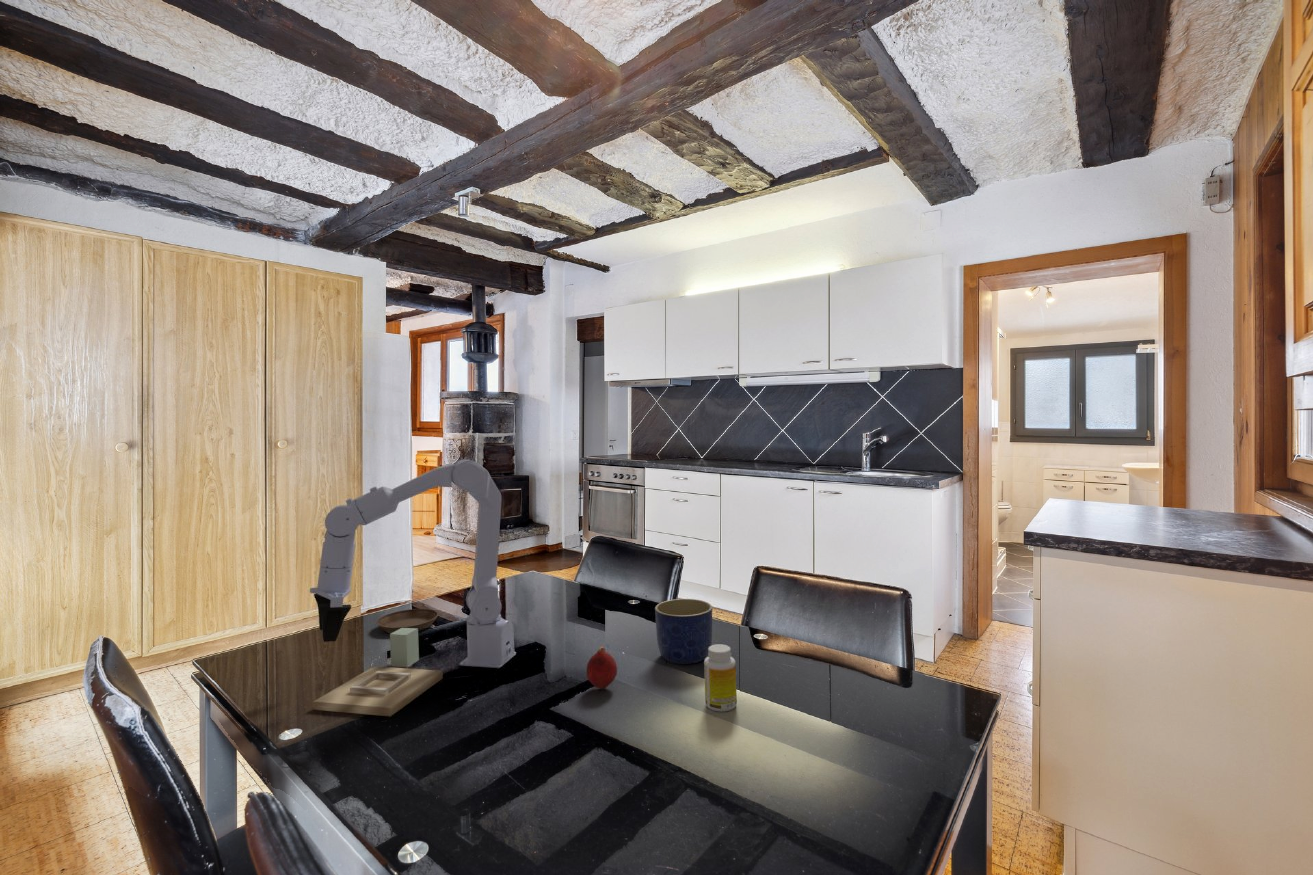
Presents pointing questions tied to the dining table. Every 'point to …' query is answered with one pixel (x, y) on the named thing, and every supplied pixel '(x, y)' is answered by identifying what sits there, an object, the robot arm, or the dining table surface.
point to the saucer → (407, 619)
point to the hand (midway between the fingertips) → (327, 635)
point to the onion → (601, 669)
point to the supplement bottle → (720, 679)
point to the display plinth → (378, 691)
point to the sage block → (404, 647)
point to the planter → (684, 630)
